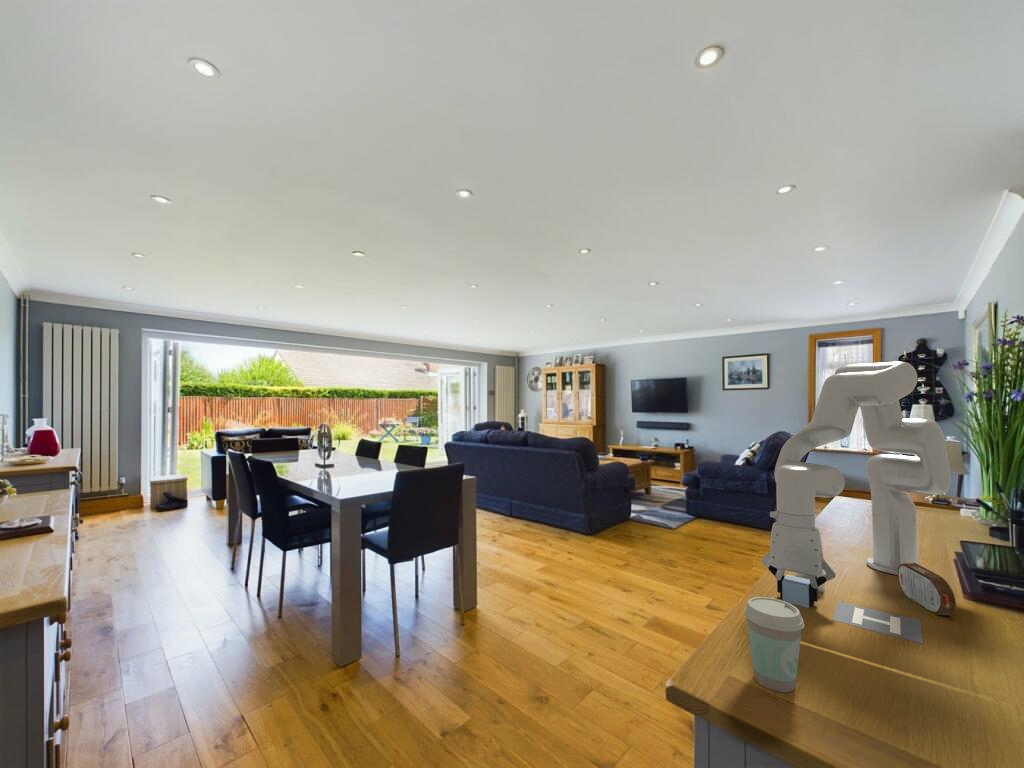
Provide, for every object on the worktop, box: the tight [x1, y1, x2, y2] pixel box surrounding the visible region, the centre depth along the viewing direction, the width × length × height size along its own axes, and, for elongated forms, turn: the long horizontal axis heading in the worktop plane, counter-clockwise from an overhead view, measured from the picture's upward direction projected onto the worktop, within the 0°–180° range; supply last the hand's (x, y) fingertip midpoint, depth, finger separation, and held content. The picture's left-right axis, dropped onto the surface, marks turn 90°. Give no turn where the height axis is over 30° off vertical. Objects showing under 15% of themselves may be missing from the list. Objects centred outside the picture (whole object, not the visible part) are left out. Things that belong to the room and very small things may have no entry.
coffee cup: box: [743, 596, 805, 693], centre depth 73 cm, size 8×9×12 cm
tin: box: [897, 563, 957, 617], centre depth 101 cm, size 15×3×8 cm, turn 168°
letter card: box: [832, 600, 924, 644], centre depth 93 cm, size 12×14×1 cm
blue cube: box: [782, 574, 810, 609], centre depth 103 cm, size 5×5×5 cm
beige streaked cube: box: [794, 570, 826, 593], centre depth 110 cm, size 6×6×6 cm
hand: (797, 599), depth 102 cm, fingers closed on blue cube, 5 cm apart
